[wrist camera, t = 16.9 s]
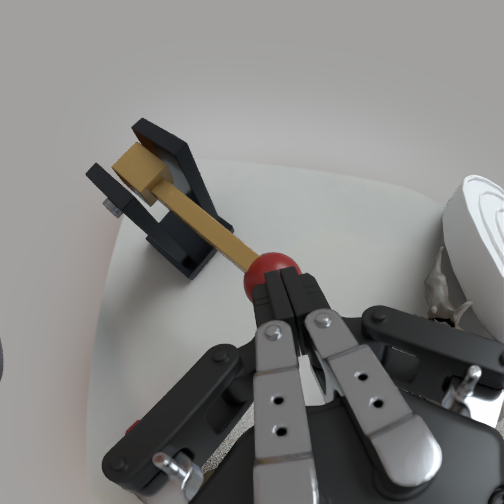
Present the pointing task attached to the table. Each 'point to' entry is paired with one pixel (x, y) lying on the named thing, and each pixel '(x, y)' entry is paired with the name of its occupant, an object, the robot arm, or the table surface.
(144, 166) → the lever
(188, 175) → the bracket
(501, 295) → the container
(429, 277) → the rhinoceros figurine
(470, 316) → the table surface
